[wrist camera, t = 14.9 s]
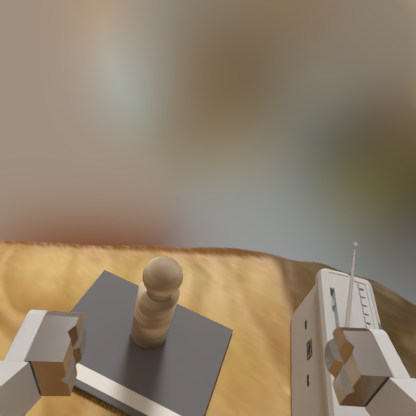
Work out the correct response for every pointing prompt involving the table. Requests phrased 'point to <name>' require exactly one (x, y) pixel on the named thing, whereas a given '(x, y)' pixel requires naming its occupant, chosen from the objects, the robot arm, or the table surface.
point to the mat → (146, 355)
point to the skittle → (156, 302)
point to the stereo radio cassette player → (326, 339)
